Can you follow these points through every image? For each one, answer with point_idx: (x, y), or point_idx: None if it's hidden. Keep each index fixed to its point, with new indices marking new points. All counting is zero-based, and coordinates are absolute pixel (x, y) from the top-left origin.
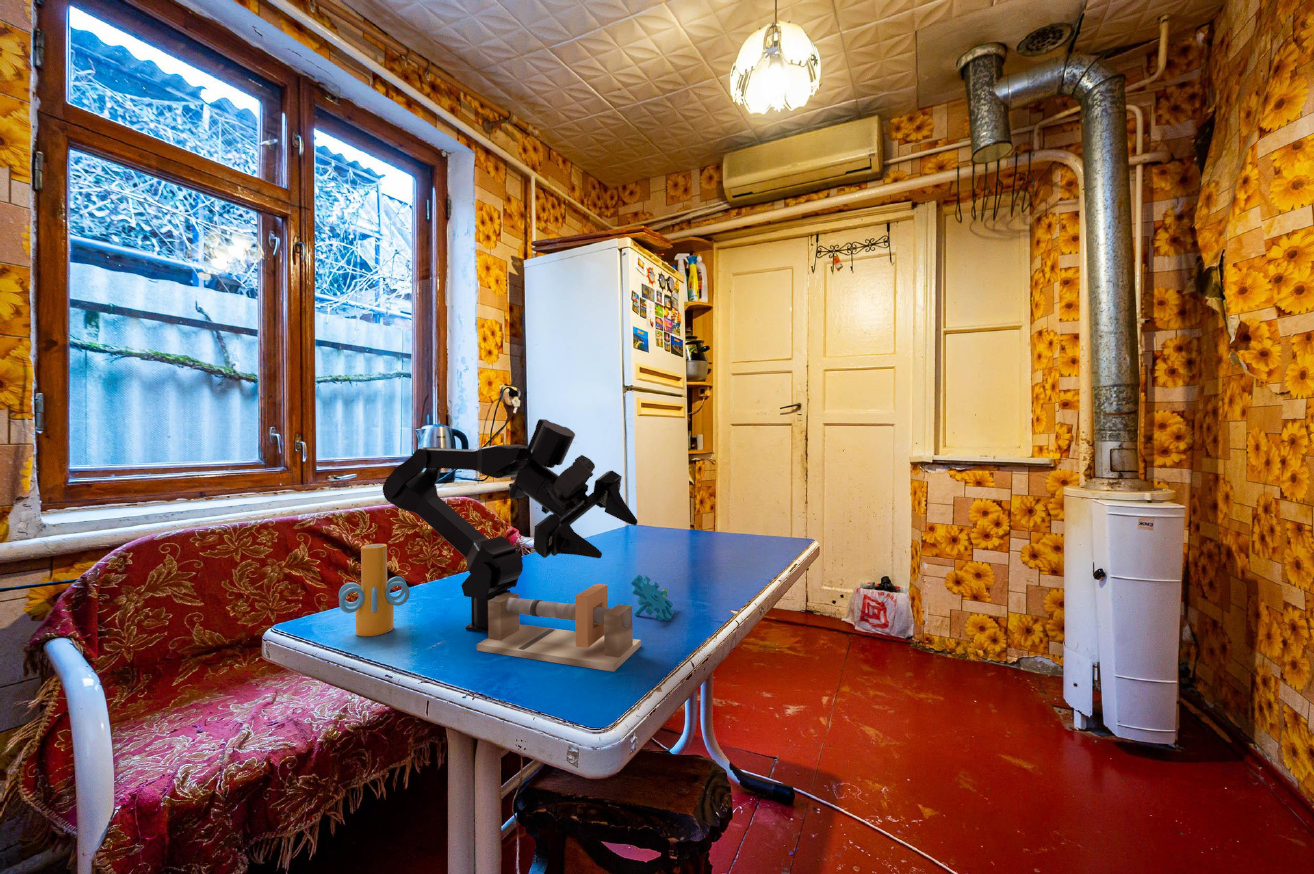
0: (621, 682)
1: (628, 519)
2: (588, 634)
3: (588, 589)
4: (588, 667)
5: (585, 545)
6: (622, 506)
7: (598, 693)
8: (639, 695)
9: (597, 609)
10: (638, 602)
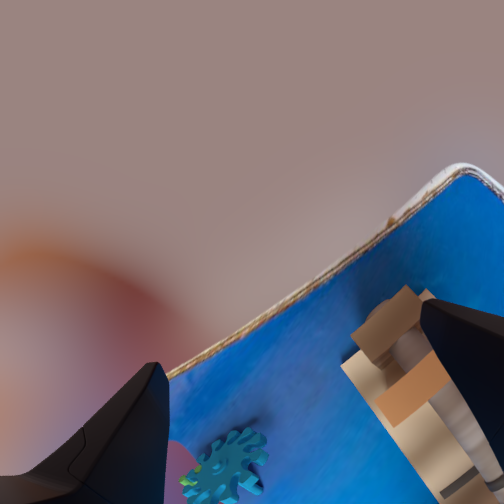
0: (427, 256)
1: (158, 408)
2: None
3: (441, 379)
4: None
5: (492, 316)
6: (104, 434)
7: (461, 239)
8: (417, 217)
9: (428, 353)
10: (266, 457)
